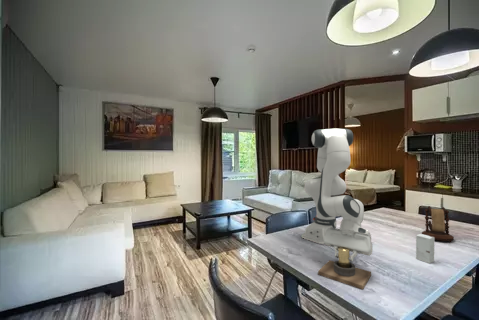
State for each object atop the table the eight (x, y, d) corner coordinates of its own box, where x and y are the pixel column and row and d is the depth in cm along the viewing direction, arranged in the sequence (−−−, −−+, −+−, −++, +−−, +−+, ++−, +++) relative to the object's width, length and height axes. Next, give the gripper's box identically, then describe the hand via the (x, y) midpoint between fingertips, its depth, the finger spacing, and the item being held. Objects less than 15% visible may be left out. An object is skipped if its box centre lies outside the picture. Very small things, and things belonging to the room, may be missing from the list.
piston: (337, 269, 98) (336, 249, 98) (340, 265, 101) (340, 246, 101) (347, 272, 95) (347, 251, 95) (351, 268, 98) (350, 248, 98)
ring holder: (318, 274, 99) (317, 264, 99) (329, 263, 109) (329, 254, 109) (362, 289, 87) (362, 278, 87) (371, 275, 97) (370, 264, 97)
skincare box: (415, 258, 111) (415, 234, 111) (420, 257, 113) (420, 233, 113) (430, 264, 106) (429, 238, 106) (435, 262, 108) (434, 237, 108)
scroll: (425, 241, 134) (424, 208, 134) (419, 233, 147) (418, 203, 147) (458, 244, 127) (457, 210, 127) (448, 236, 140) (447, 205, 140)
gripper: (325, 223, 110) (318, 249, 103) (372, 231, 97) (367, 262, 89) (329, 230, 114) (322, 255, 106) (375, 238, 100) (370, 268, 93)
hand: (343, 258), depth 98 cm, fingers closed on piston, 4 cm apart
